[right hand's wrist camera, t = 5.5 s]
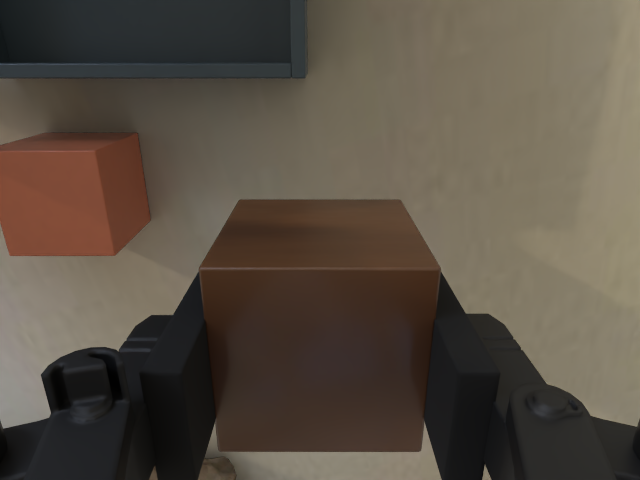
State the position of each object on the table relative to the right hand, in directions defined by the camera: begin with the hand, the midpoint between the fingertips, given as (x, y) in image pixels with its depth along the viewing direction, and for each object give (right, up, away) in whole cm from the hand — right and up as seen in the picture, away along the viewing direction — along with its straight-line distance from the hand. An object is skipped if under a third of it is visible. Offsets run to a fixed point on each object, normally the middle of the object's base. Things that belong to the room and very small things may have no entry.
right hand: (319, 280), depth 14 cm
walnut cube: (0, 0, 0) cm, 0 cm away
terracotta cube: (-12, +5, +10) cm, 17 cm away
